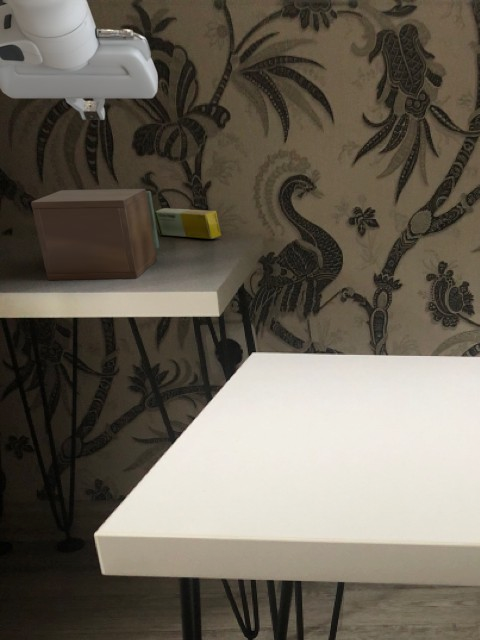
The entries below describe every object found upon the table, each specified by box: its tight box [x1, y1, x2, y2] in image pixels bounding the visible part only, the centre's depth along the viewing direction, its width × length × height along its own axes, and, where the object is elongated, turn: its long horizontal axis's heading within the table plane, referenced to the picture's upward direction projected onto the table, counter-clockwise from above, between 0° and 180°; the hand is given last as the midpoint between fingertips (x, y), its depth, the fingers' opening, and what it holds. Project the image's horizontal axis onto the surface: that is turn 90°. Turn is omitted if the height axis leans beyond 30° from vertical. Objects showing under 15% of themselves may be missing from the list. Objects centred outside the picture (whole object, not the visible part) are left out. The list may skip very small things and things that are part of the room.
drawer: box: [146, 190, 160, 250], centre depth 133 cm, size 18×10×8 cm, turn 5°
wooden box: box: [30, 188, 158, 281], centre depth 125 cm, size 14×12×10 cm
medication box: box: [154, 207, 222, 240], centre depth 151 cm, size 12×3×4 cm, turn 59°
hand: (94, 116), depth 128 cm, fingers closed
